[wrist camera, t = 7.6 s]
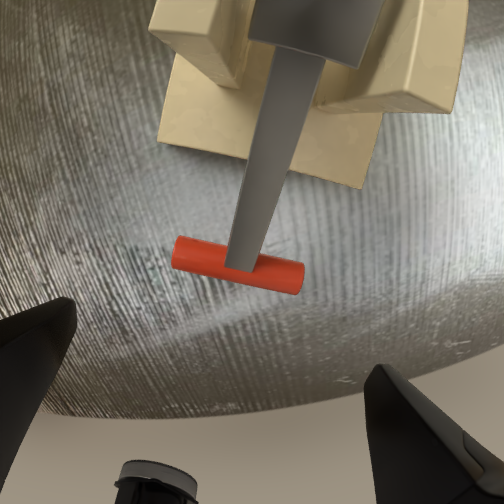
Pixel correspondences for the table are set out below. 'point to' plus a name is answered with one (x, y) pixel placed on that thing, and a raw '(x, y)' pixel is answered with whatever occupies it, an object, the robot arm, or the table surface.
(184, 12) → the bracket
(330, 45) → the lever
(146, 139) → the table surface
